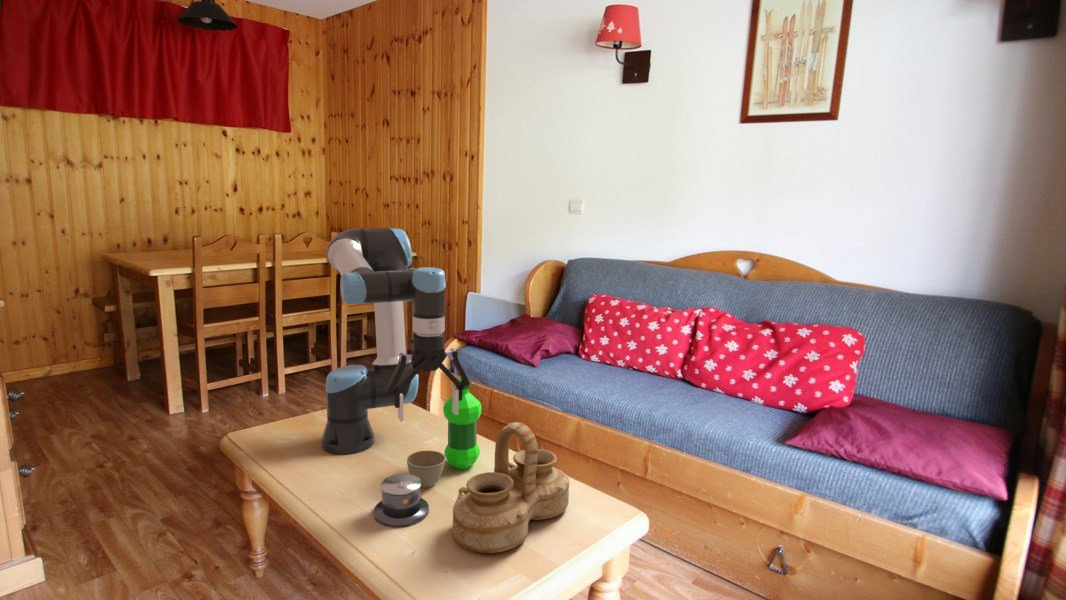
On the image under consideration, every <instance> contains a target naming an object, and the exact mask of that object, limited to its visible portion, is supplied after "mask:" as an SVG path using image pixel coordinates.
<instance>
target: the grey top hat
mask: <svg viewBox="0 0 1066 600" xmlns="http://www.w3.org/2000/svg"><path fill="white" fill-rule="evenodd" d="M380 488H381V489H380V490H381V500H380V501H378V503H377V504H376V505H375V506H374V508H373V518H374V520H375V521H376V522H377V523H379V524H380V525H382V526H384V527H390V528H405V527H410V526H413V525H416V524H418V523H420V522H422V521H423V520H425V519H426V518H427V516H428V515H429V511H430V509H429V507H430V505H429V503H428V501H426V499H424V498H423V497H421V480H420V479H419V478H418V477H417V476H414V475H410V473H409V474H407V473H399V474H398V473H397V474H393V475H390V476H387V477H386V478H384V479H383V480H382V481H381V484H380Z"/></svg>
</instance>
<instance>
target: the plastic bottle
mask: <svg viewBox="0 0 1066 600" xmlns="http://www.w3.org/2000/svg"><path fill="white" fill-rule="evenodd" d="M456 379H457V380H458V381H459V382H460V381H462V379H461V377H460V378H456ZM468 380H469V382H470V385H469V386H465V387H464V389H463V390H462V400H461V401H458V415H455V414H454V413H453V411H452V404H453V395H451V396H450V397H449V398H448V399H447V400H446V401H445V403H444V405H443V410H442V411H443V416H444V417H445V418H446V420H447V445H446V447H445V449H444V454H443V455H444V456H445V460H446V461H447V462H448V463H449V464H450V465H451V466H452V467H453V468H454V469H457V470H467V469H469V468H470V467H471V466H473V465H474V464H475V463H476V462H477V460H478V459H479V457H480V453H481V452H480V447H479V445H478V444H477V437H478V436H477V431H478V430H477V424H478V423H477V422H478V419H479V418H480V417H481V415H482V404H481V401H479V400H478V399H477V398H476V397H475V396H474V395H473V394H472V393H471V392H469V391H470V390H469V389H470V388H471V386H472V384H471V383H472V382H471V380H470V379H469V378H468ZM454 386H456V385H455V384H454Z"/></svg>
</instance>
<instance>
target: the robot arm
mask: <svg viewBox="0 0 1066 600" xmlns="http://www.w3.org/2000/svg"><path fill="white" fill-rule="evenodd" d="M412 252H413V251H412V247H411V242H410V239H409V237H408V235H407V233H406V232H405V230H403V229H401V228H392V227H385V228H384V227H383V228H350V229H346V230H344V231H341V232H339V233H337V235H335V236H333V238H332V239H331V240H330V241H329V243H328V245H327V247H326V257H327V260H328V262H329V264H330V265H331V266H332V267H333V269H336V270H337V271H338V273H339V274H340V276H341V277H340V281H339V282H340V283H339V284H340V285H339V288H340V296H341V300H342V302H343V303H344V304H347V305H361V304H362V305H365V304H374V318H375V319H374V321H375V322H374V324H375V341H376V356H377V357H376V359H374V361H373V362H372V369H368V368H367V367H366V366H365V365H362V364H348V365H344V366H341V367H340V366H339V367H337V368H335V369H333V370H331V371H330V372H329V373H328V374H327V376H326V379H325V382H326V383H325V393H326V423H325V427H324V430H323V434H322V437H321V448H322V449H323V450H324V451H326V452H328V453H331V454H335V455H336V454H338V455H346V454H348V455H349V454H355V453H356V454H357V453H359V452H363V451H366V450H367V449H369V448H371V447H372V446H373V445H374V443H375V433H374V430H373V427H372V425H371V423H370V420H369V416H368V415H369V414H368V411H369V410H371V409H379V408H387V407H393V406H394V407H395V408H396V409H397V418H398V420H399V422H400V423H401V422H402V423H403V422H404V405H407V404H411V403H413V402H414V400H415V399H416V397H417V394H418V389H419V373H420V372H429V371H431V372H433V371H434V372H435V371H437V370H438V369H439V370H441V372H443V374H445V376H446V377H447V378H449V380H450V381H451V382H452V383H453V384H454V386H452V396H453V404H452V411H453V413H454V414H455V415H458V401H461V400H462V390H463V389H464V387H465V386H469V385H470V382H469V380H470V379H469V378H468V376H467V374H466V372H465V370H464V369H463V367H462V365H461V363H460V361H459V355H458V354H459V353H458V351H456V350H455V349H454V348H451V349H449V350H447V351H446V349H445V347H446V346H445V344H446V342H445V337H446V336H445V335H446V334H445V333H444V332H445V331H446V327H445V324H446V322H445V321H446V320H445V319H446V318H445V317H446V316H445V315H446V313H445V312H446V286H447V283H446V273H445V271H444V270H443V269H442V268H437V267H430V266H429V267H426V266H425V267H419V268H418V267H417V268H415V267H411V268H408V267H410V266H411V265H412V262H413V261H412V258H413V254H412ZM404 302H412V332H413V334H412V352H411V354H407V351H406V350H407V349H406V335H405V334H406V332H405V331H406V330H405V313H404ZM447 358H448V359H449V360H451V362H452V364H453V366H454V368H455V369H456V371H457V373H458V375H459V377H460V378H461V379H462V381H460V382H459V381H458V380H457V379H458V378H457V377H456V376H455V375H454V374H453V373H452V372H451V371H450V370H449V369H448V368H447V367H446V365H444V363H443V362H444V361H445V360H446V359H447ZM412 362H413V363H412ZM468 379H469V380H468ZM455 385H456V386H455Z"/></svg>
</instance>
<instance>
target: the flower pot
mask: <svg viewBox="0 0 1066 600" xmlns="http://www.w3.org/2000/svg"><path fill="white" fill-rule="evenodd" d="M406 463H407V469H408V471H409V474H410V475H414V476H417V477H418V478H419V479H420V480H421V487H420V489H421V488H422V489H428V488H431V487H434V486H435V485H436V484H437V482H438V481H439V479H440V477H441V475H442V473H443V470H444V467H445V463H446V457H445V455H444V454H443V453H441V452H440V451H435V450H420V451H417V452H416V451H415V452H413V453H411V454H409V455H408V456H407V457H406Z"/></svg>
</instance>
